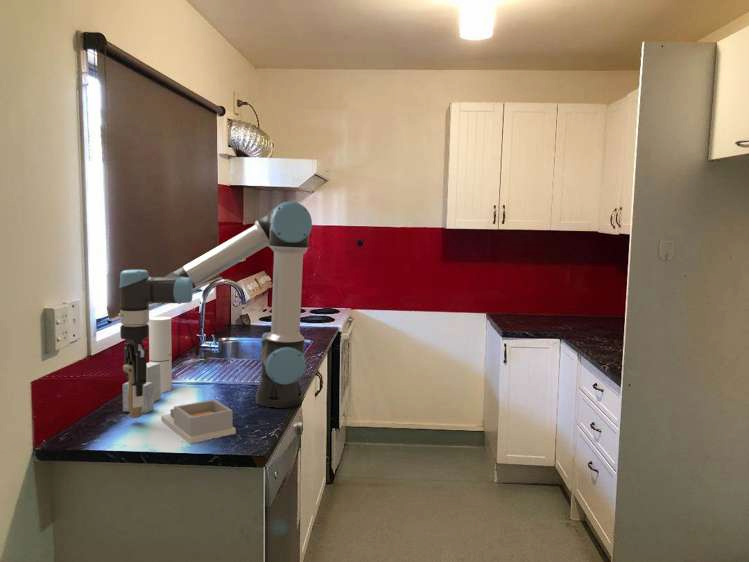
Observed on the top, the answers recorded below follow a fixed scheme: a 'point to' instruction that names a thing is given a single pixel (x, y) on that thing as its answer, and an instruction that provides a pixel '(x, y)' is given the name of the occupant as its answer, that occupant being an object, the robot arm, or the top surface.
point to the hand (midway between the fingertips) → (135, 404)
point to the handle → (133, 411)
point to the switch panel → (200, 421)
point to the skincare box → (154, 378)
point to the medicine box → (147, 397)
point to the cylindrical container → (161, 349)
